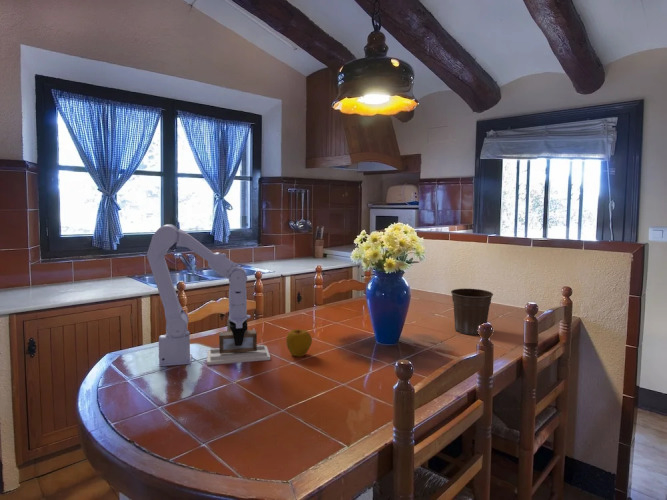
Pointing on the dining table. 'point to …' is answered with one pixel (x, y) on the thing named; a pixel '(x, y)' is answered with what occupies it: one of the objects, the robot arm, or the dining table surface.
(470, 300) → the plant pot
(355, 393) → the dining table surface
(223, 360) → the notch ledge
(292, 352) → the apple
